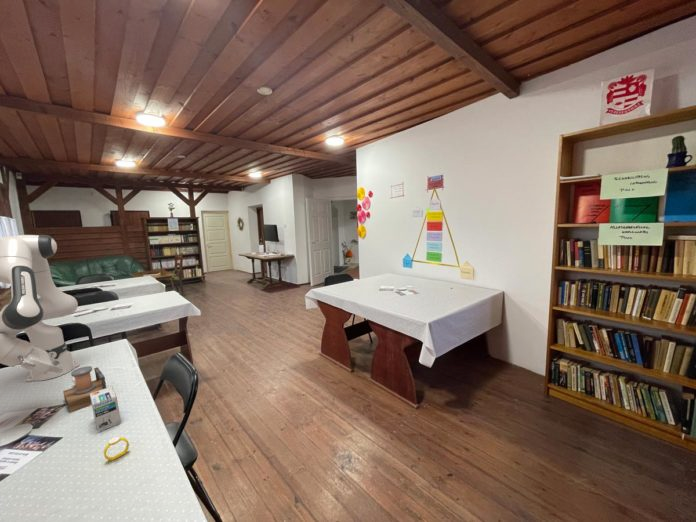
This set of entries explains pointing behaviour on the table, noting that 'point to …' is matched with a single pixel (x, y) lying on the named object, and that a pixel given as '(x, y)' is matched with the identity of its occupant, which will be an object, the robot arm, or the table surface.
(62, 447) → the table surface
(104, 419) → the light bulb box
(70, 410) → the shelf stand
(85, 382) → the cord spool
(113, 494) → the table surface
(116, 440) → the watch
